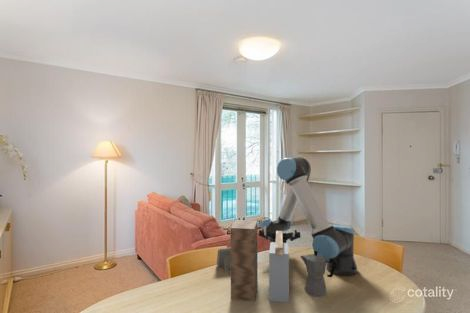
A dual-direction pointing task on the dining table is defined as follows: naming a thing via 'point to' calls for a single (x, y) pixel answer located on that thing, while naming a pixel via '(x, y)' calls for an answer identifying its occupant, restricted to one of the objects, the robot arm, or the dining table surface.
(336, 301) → the dining table surface
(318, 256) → the coffeepot
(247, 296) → the walnut plinth
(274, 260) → the white rectangular block
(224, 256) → the digital clock
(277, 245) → the beech bar
